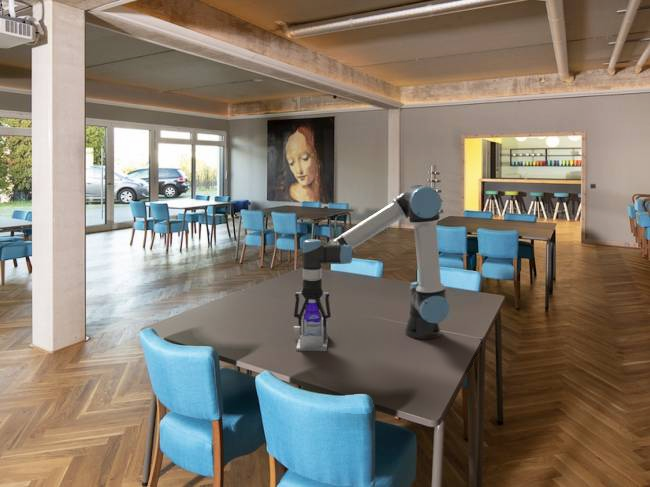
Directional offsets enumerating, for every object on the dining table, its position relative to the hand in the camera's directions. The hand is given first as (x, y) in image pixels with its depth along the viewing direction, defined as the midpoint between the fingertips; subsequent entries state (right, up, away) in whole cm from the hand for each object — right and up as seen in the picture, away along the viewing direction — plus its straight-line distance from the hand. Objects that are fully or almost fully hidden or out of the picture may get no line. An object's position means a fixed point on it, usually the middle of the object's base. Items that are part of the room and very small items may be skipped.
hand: (312, 333), depth 196 cm
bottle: (0, -3, 0) cm, 3 cm away
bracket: (0, -5, +1) cm, 5 cm away
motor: (-1, -4, +10) cm, 10 cm away
